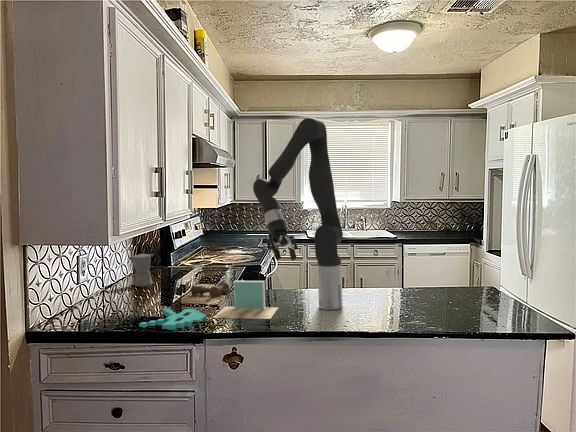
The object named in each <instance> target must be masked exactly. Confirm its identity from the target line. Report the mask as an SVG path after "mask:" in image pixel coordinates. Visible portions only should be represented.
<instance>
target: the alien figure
mask: <svg viewBox="0 0 576 432" xmlns="http://www.w3.org/2000/svg"><path fill="white" fill-rule="evenodd" d="M162 315H164V316H165V318H159V319H157V320H153V319H152V320H150V321H148V322H147V321H142V322H140V323H139V324H138V325H139V327H143V328H145V327H147V326H155V325H157V326H162V327H161V328H162V330H163V329H167V330H166V331H175V330H176V329H184V328H185V327H192V326H194V325H201V323H200V322H201V321H203V320H204V319H205V318H206V317H207V314H204V313H203V312H200V310H197V309H196V308H185V309H184V310H182V311H181V312H179V313H177V312H176V311H174V310H173V309H171V308H164V309H162ZM155 327H156V326H155Z"/></svg>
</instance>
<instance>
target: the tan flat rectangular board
mask: <svg viewBox="0 0 576 432" xmlns="http://www.w3.org/2000/svg"><path fill="white" fill-rule="evenodd" d="M278 309H279V307H275V306H271V307H269V306H265V310H258V309H235V306H224V307H223V308H222V309H221V310H220V311H218V312H217V313H216V314H215V315H214V316H212V318H214V319H215V318H217V319H218V318H219V319H255V320H261V319H262V320H263V319H264V320H271V319H272V317H273V316H274V315H275V313H276V312H277V310H278Z"/></svg>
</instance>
